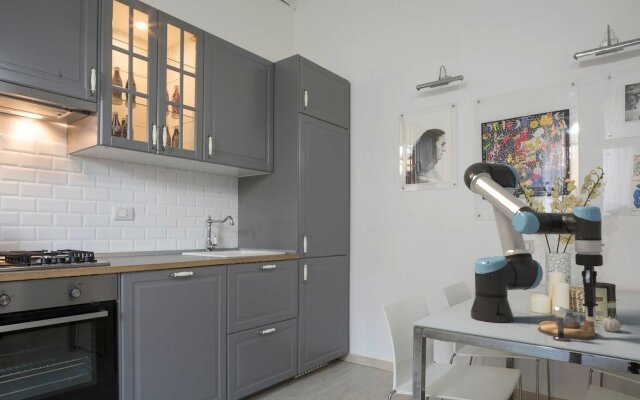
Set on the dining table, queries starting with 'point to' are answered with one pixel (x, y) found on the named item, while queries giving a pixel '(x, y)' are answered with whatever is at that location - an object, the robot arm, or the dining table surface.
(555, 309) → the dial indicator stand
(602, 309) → the coffee can
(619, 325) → the garlic
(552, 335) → the turntable base
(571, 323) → the cast cover
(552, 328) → the turntable
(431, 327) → the dining table surface
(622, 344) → the dining table surface
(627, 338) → the dining table surface
